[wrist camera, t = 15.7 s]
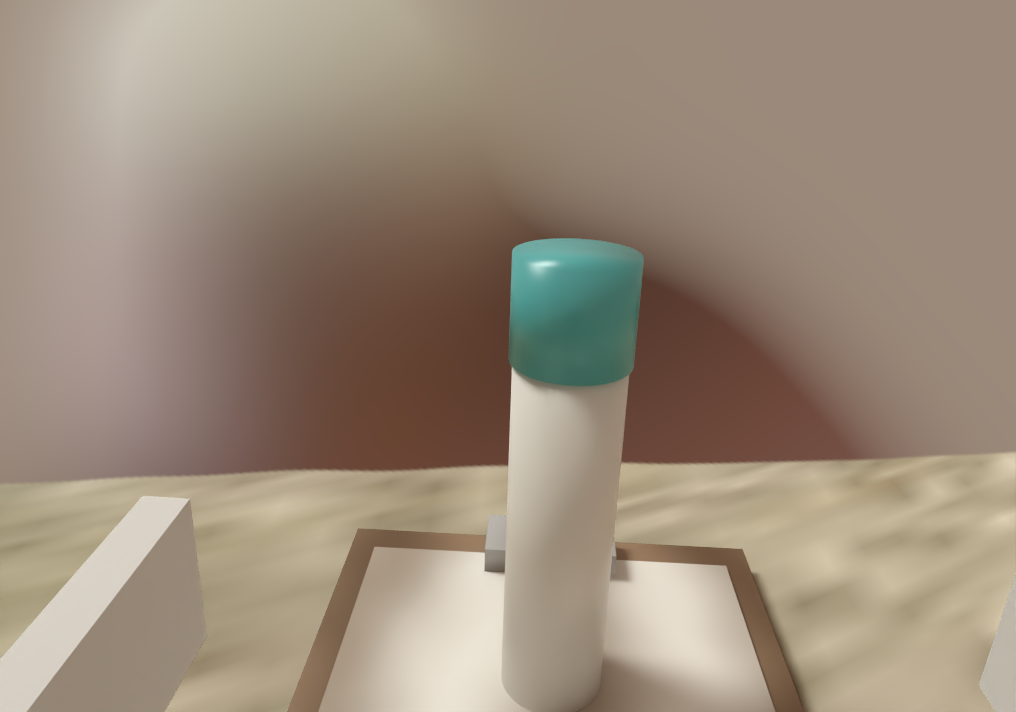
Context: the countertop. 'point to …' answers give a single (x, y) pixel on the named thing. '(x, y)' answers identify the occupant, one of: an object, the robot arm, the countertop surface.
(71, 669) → the robot arm
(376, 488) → the countertop surface
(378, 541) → the clipboard
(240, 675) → the countertop surface
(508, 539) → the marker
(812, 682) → the countertop surface
